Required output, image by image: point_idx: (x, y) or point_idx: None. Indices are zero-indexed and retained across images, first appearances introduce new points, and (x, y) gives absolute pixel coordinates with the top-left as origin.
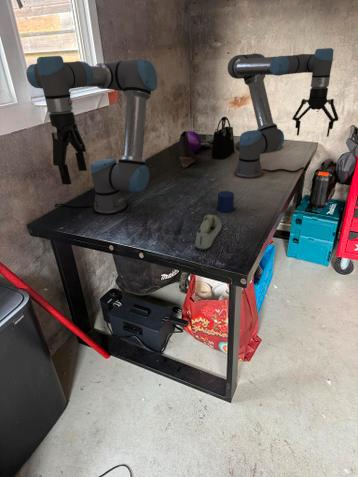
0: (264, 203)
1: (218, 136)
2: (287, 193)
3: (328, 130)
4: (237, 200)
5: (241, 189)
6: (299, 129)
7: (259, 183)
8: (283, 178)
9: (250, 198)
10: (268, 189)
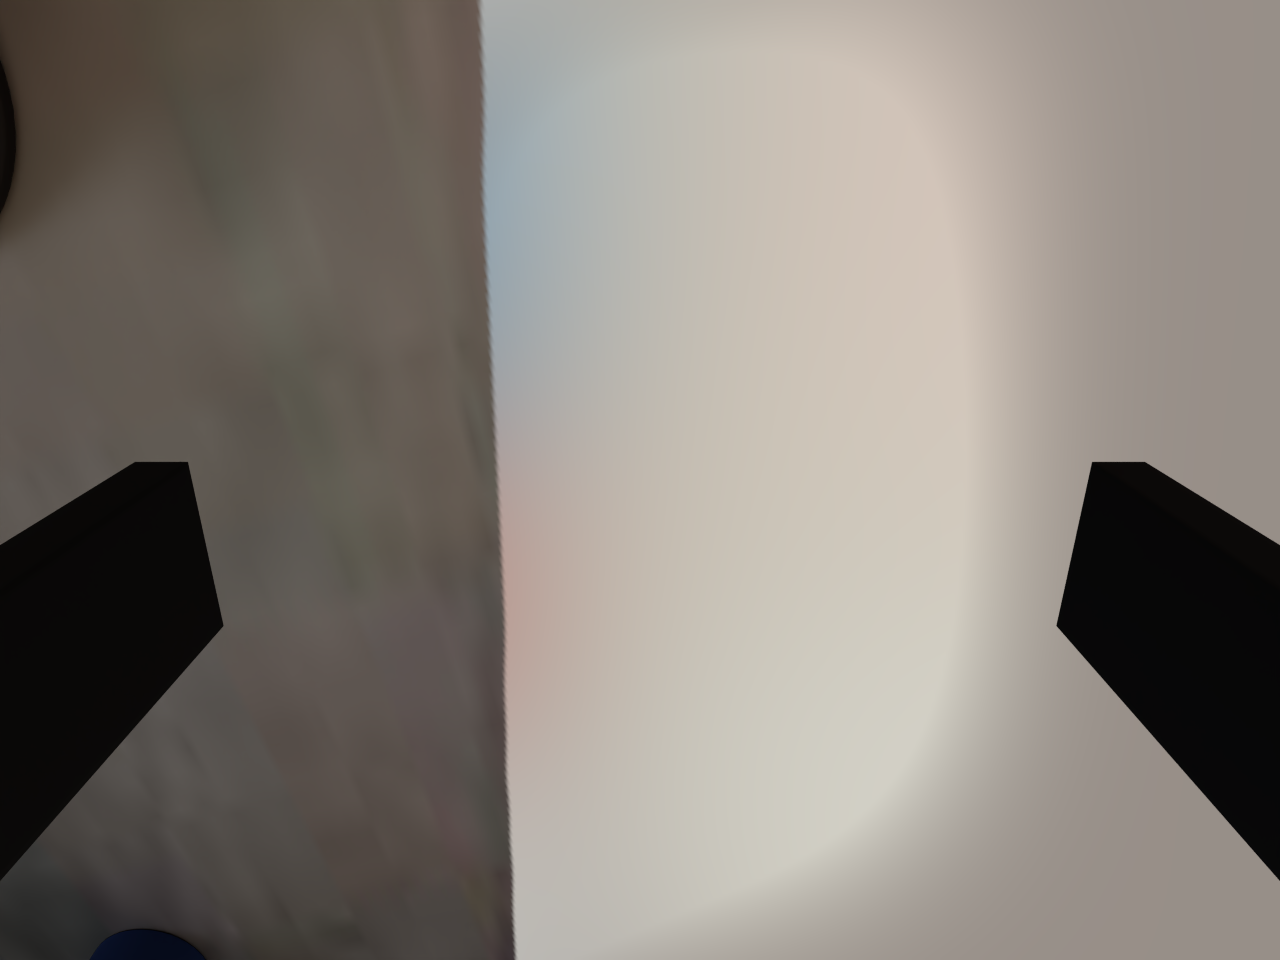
0: (379, 826)
1: None
2: (503, 589)
3: (1195, 752)
4: (154, 834)
5: None
6: (90, 583)
7: (136, 406)
8: (336, 138)
9: (233, 774)
10: (298, 545)
